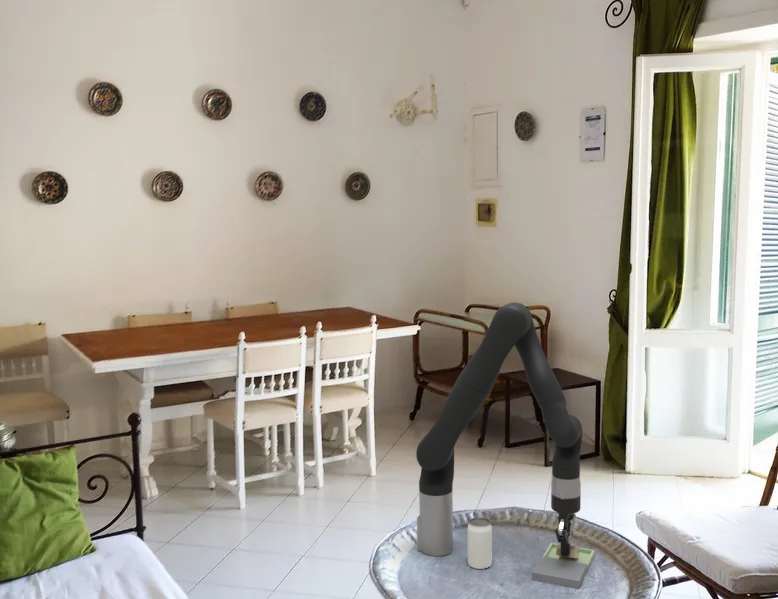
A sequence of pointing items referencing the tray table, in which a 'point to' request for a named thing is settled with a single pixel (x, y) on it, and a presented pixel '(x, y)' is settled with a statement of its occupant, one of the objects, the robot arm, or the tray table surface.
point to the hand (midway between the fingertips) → (565, 554)
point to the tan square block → (573, 551)
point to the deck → (559, 572)
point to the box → (584, 557)
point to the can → (479, 543)
